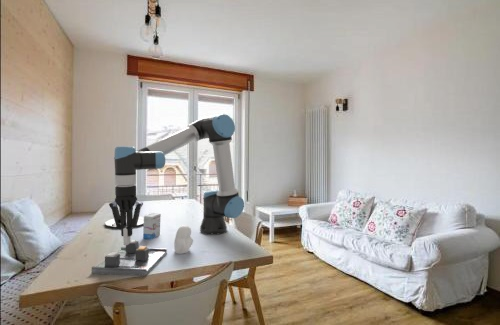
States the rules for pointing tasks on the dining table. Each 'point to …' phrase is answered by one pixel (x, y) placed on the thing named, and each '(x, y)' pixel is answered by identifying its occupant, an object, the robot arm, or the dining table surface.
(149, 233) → the ink box
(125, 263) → the panel
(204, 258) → the dining table surface
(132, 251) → the block
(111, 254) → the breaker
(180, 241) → the figurine
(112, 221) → the plate
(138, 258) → the breaker
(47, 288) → the dining table surface
